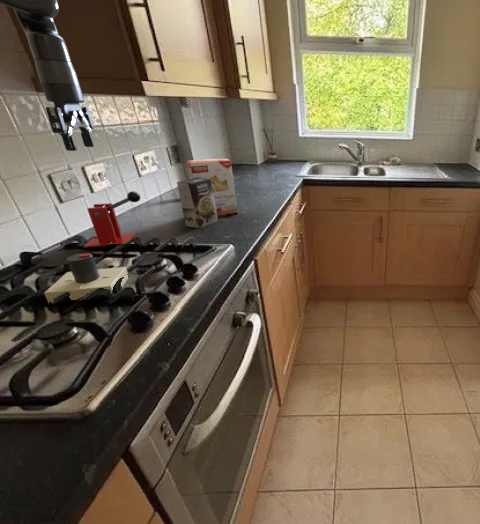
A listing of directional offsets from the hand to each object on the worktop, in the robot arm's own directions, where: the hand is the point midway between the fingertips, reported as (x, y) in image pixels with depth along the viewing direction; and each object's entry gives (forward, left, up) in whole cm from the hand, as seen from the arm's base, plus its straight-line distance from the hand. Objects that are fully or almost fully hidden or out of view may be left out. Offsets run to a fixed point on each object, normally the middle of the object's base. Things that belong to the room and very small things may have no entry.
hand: (81, 148), depth 91 cm
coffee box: (+25, +11, -28) cm, 39 cm away
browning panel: (+7, -32, -28) cm, 43 cm away
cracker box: (+29, +23, -28) cm, 46 cm away
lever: (+6, -1, -17) cm, 18 cm away
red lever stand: (+1, -1, -28) cm, 28 cm away
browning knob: (+7, -32, -25) cm, 41 cm away
